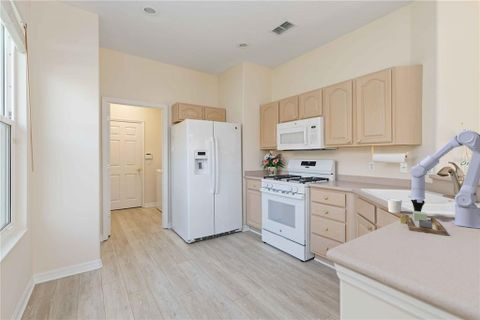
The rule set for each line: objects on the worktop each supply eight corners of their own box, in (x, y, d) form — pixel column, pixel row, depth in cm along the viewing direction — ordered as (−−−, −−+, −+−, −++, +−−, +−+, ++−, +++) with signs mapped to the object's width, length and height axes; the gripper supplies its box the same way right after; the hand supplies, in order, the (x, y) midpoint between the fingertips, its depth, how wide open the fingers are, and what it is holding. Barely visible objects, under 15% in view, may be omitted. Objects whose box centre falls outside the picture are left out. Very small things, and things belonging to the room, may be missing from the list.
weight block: (430, 229, 99) (430, 220, 99) (432, 232, 96) (432, 223, 96) (419, 228, 101) (419, 219, 101) (420, 230, 98) (420, 221, 98)
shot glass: (404, 213, 126) (404, 201, 126) (392, 213, 127) (392, 201, 126) (396, 210, 133) (396, 198, 133) (384, 210, 133) (384, 198, 133)
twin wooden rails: (434, 220, 112) (434, 218, 112) (445, 235, 92) (446, 231, 92) (404, 217, 118) (404, 214, 118) (409, 230, 99) (409, 226, 99)
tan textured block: (405, 221, 111) (405, 213, 111) (405, 223, 108) (405, 215, 108) (400, 221, 112) (400, 213, 112) (400, 222, 109) (400, 214, 109)
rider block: (425, 220, 114) (425, 212, 114) (427, 222, 110) (427, 214, 110) (412, 218, 117) (412, 210, 117) (414, 221, 113) (414, 213, 113)
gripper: (407, 186, 128) (406, 209, 129) (410, 189, 116) (409, 215, 116) (423, 187, 124) (422, 211, 125) (427, 190, 112) (427, 217, 113)
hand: (417, 213), depth 120 cm, fingers closed
